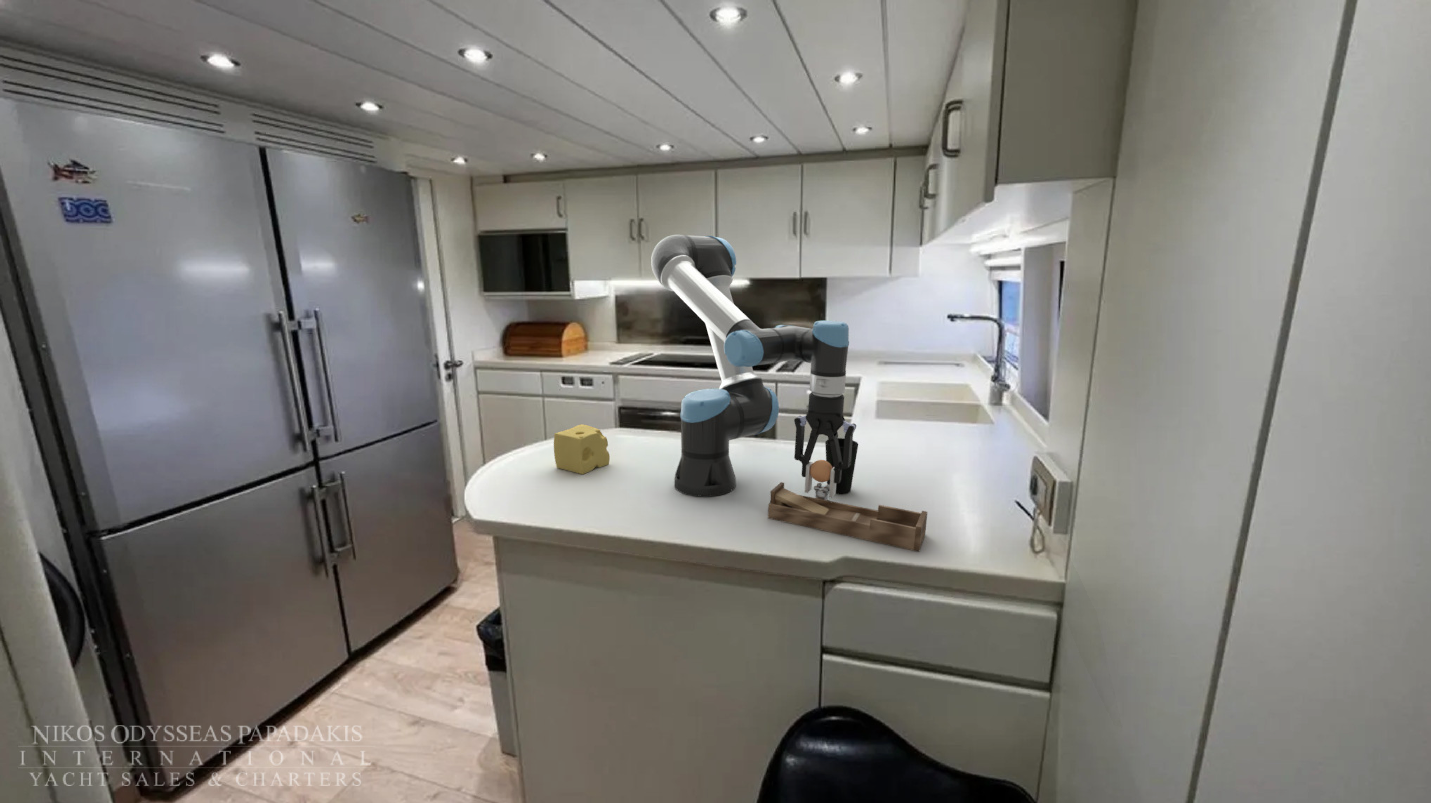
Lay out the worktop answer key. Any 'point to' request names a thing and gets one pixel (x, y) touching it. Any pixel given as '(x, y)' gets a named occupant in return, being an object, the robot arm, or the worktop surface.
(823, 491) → the silver knobbed handle
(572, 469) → the cheese
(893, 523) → the lane
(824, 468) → the ball
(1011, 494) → the worktop surface
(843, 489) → the cup
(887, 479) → the worktop surface
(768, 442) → the worktop surface
